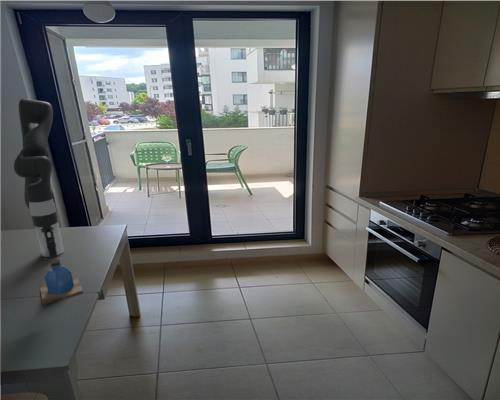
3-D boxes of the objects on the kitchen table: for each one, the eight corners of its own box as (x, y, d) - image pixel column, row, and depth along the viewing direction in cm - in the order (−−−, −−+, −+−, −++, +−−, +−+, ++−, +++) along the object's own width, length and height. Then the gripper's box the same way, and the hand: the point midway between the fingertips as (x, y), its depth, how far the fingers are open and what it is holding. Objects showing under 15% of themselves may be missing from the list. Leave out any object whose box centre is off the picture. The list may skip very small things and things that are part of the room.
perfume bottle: (59, 294, 112) (53, 266, 109) (48, 291, 114) (41, 264, 111) (74, 286, 118) (68, 259, 115) (62, 283, 120) (56, 256, 117)
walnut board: (40, 289, 118) (40, 287, 117) (77, 278, 125) (77, 276, 125) (43, 305, 108) (42, 303, 107) (83, 292, 115) (82, 290, 115)
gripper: (58, 214, 104) (66, 256, 108) (53, 204, 114) (61, 243, 119) (31, 219, 99) (41, 262, 104) (29, 208, 110) (39, 248, 115)
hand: (52, 252), depth 111 cm, fingers open, 8 cm apart
